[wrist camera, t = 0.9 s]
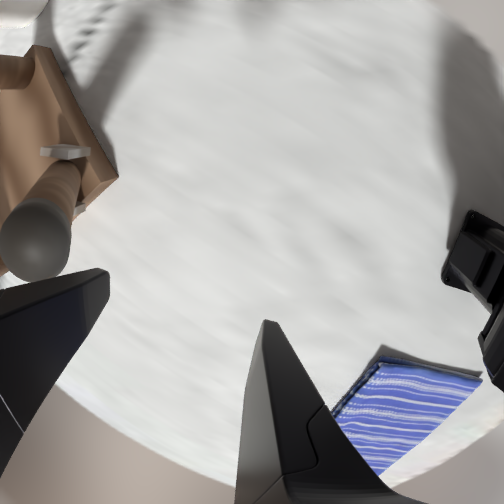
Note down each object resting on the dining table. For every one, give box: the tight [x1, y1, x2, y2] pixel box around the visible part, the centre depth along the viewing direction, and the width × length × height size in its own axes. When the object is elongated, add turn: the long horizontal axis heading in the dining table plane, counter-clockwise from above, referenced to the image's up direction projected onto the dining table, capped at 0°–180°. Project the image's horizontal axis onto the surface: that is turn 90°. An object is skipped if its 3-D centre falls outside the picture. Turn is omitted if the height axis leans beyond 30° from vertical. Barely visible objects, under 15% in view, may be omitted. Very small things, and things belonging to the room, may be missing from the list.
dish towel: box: [331, 356, 483, 476], centre depth 27 cm, size 17×24×3 cm
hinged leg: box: [0, 159, 81, 282], centre depth 13 cm, size 3×3×11 cm
